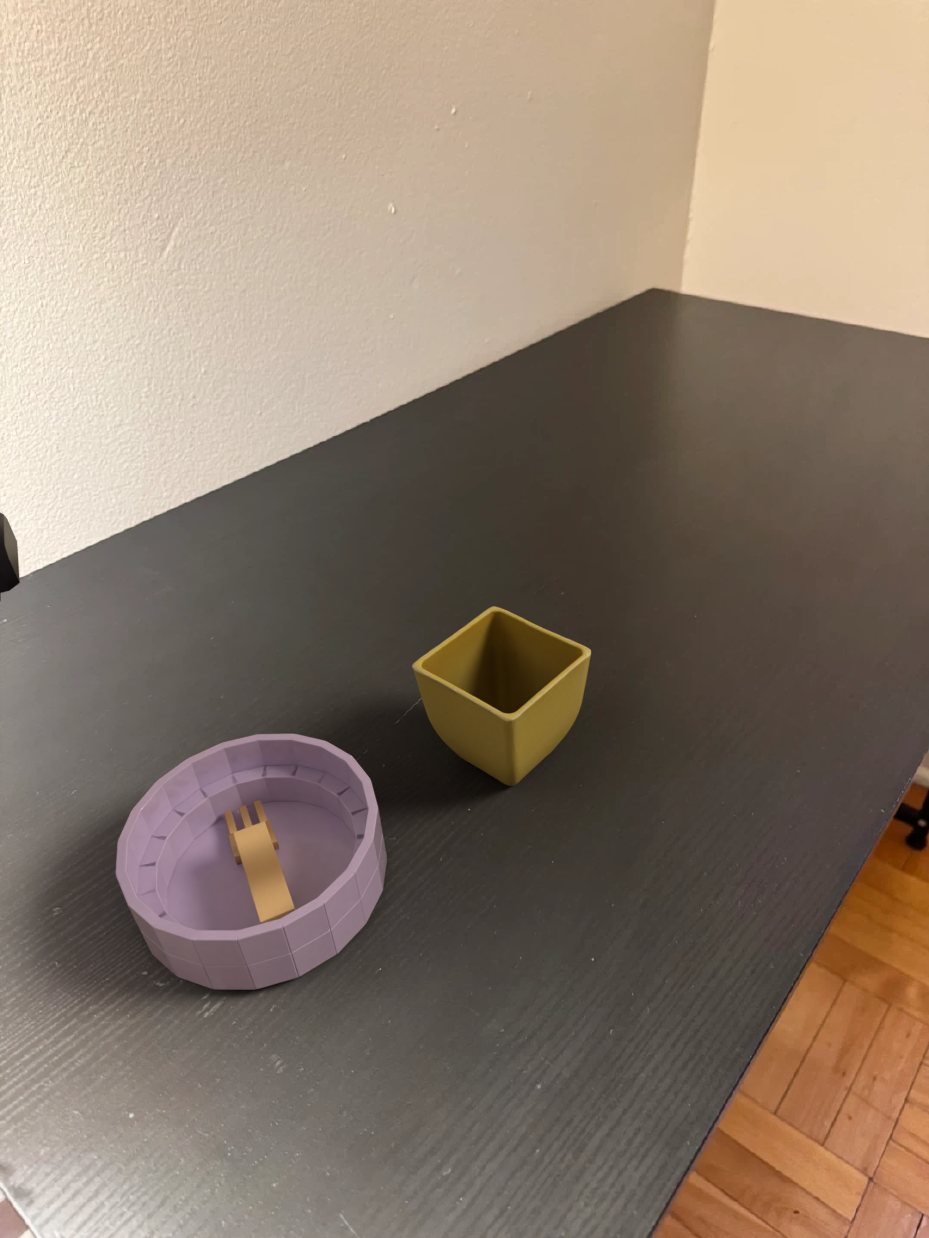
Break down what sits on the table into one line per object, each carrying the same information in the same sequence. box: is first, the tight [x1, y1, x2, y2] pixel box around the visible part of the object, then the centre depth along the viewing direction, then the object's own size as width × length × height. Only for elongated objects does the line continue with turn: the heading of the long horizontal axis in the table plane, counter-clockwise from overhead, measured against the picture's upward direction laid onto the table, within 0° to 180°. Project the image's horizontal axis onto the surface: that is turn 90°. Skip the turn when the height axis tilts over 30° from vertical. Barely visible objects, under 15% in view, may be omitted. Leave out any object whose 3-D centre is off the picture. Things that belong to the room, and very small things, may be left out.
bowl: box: [115, 733, 388, 991], centre depth 52 cm, size 15×15×6 cm
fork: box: [224, 800, 295, 924], centre depth 52 cm, size 11×3×3 cm, turn 25°
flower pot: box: [411, 605, 592, 787], centre depth 58 cm, size 9×9×9 cm
